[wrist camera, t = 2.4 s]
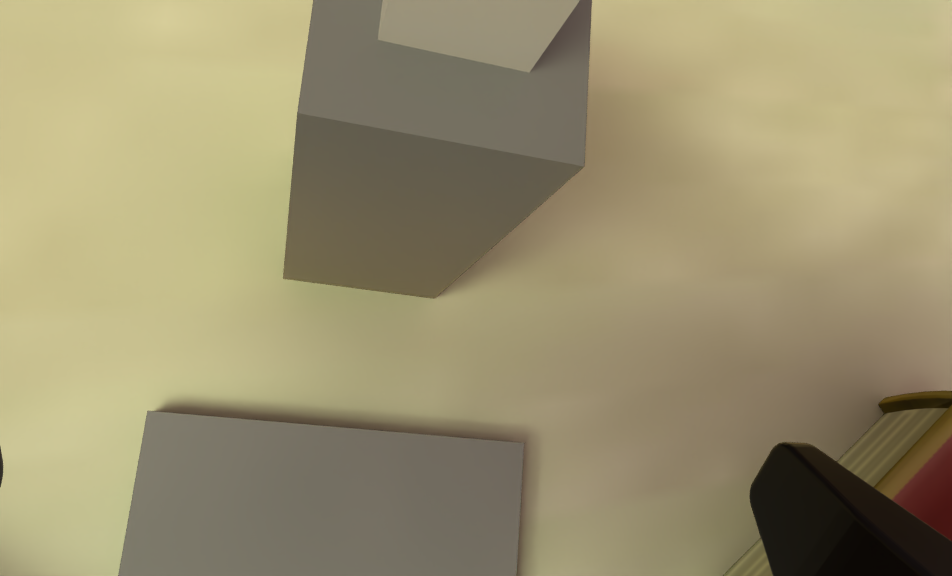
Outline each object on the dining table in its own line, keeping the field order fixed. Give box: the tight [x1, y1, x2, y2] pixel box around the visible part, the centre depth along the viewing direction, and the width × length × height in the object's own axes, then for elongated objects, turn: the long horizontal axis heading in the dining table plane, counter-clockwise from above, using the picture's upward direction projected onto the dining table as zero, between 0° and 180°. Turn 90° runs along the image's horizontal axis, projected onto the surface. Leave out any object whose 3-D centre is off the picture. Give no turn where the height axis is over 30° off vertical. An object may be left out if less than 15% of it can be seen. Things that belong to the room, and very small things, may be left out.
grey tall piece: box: [283, 0, 592, 298], centre depth 16 cm, size 4×4×13 cm
